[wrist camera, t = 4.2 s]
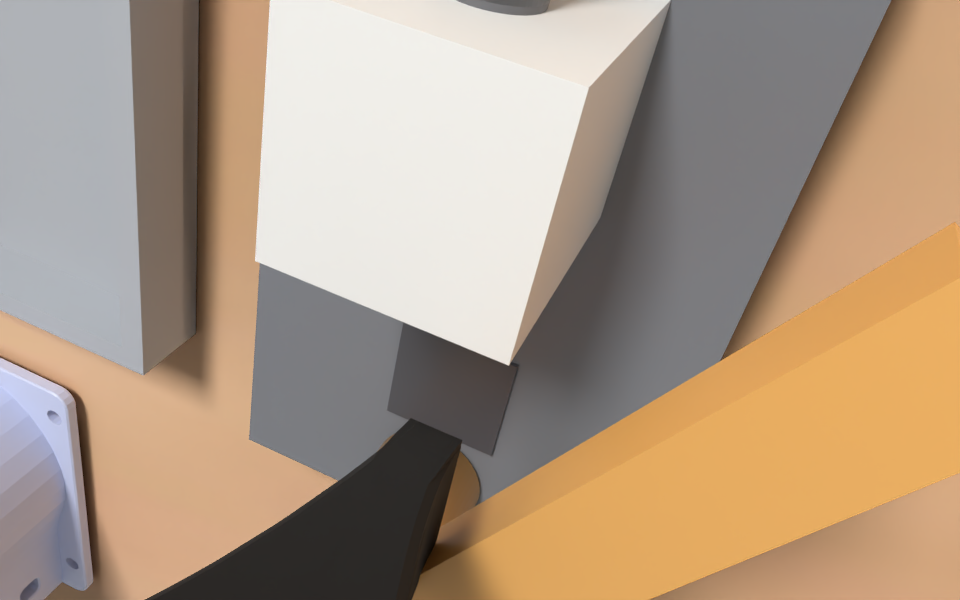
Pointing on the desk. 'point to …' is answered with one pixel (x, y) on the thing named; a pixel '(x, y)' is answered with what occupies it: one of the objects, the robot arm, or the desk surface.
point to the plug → (446, 151)
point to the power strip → (591, 263)
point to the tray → (100, 172)
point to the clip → (731, 453)
